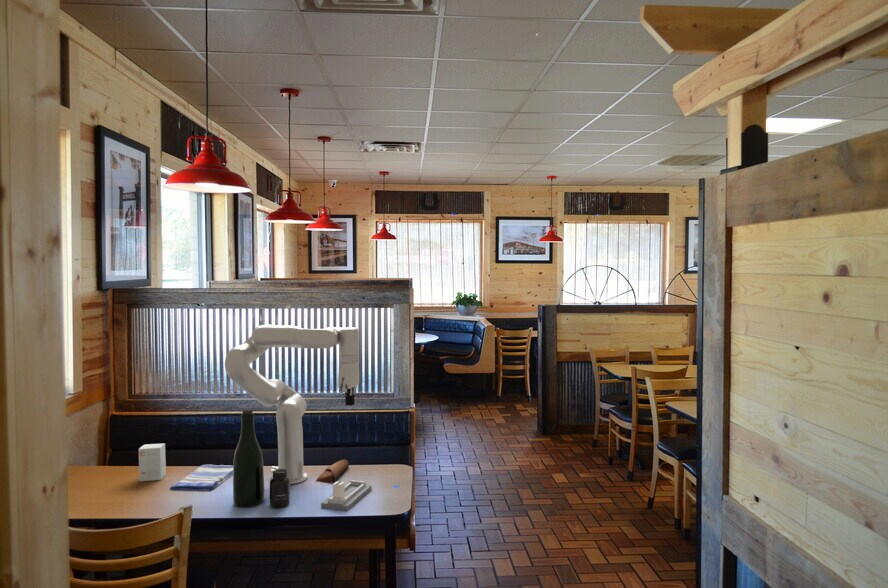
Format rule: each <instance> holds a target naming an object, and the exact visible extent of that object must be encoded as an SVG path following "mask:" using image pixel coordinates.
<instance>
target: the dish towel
mask: <svg viewBox="0 0 888 588" xmlns="http://www.w3.org/2000/svg"><path fill="white" fill-rule="evenodd" d="M231 477H233V465H231V464H230V465H228V464H227V465H224V464H220V465H218V464H217V465H216V464H202V465H200V466H199V467H197V468H196V469H195V470H194V471H192V472H191V473H189V474H188V475H187V476H184V478H182V479H181V480H179V481H178V482H177V483H175V484H174V485H172V486H170V487H169V489H170V490H172V491H176V490H177V491H178V490H179V491H203V492H204V491H209V492H211V491H212V490H214V489H215V488H217V487H218V486H220V485H221V484H222V483H224V482H225V481H226V480H227V479H230V478H231Z"/></svg>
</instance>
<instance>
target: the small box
mask: <svg viewBox="0 0 888 588" xmlns="http://www.w3.org/2000/svg"><path fill="white" fill-rule="evenodd" d="M137 450H138V478H139V479H138V480H139V482H150V481H152V482H153V481H161V480H162V479H163V478H165V476H166V475H167V471H166V470H167V467H166V466H167V462H166V443H150V444H149V443H148V444H146V443H145V444H143V445H142V446H140V447H139V448H138V449H137Z"/></svg>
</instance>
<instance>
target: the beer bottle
mask: <svg viewBox="0 0 888 588" xmlns="http://www.w3.org/2000/svg"><path fill="white" fill-rule="evenodd" d="M241 412H242V413H241V415H240V419H241V423H240V425H241V426H240V436H239V440H238V443H237V445H236V448H235V452H234V454H233V456H234V457H233V475H232V503H233V505H234V506H236V507H240V508H250V507H254V506H257V505H259V504H261V503H262V502H263V501H265V477H264V476H265V473H264V458H263V452H262V451H263V450H262V449H261V447H260V444H259V441H258V440H257V436H256V432H255V431H256V430H255V423H254V422H255V413H254V412H253V409H250V408H248V409H247V408H246V409H243V410H242V411H241Z"/></svg>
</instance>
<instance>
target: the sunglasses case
mask: <svg viewBox="0 0 888 588" xmlns="http://www.w3.org/2000/svg"><path fill="white" fill-rule="evenodd" d="M349 466H350V463H349V461H348V460H347V459H341V460H339V461H336V462H334V463H333V464H331V465H329V466H327V467H326V468H325V469H324V471H323V472H322V473H321V474H319V475H318V477H317V478H316V479H315V482H316V483H317V482H318V483H319V482H320V483H335V482H336V481H338V479H339V478H340V476H341V475H342V474H343V473H344V471H346V470H347V469H348V468H349Z"/></svg>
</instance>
